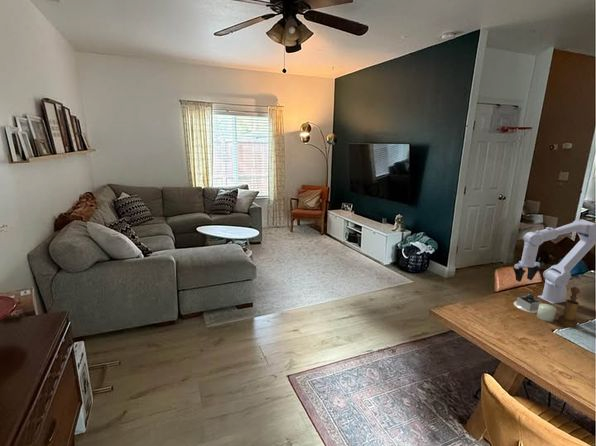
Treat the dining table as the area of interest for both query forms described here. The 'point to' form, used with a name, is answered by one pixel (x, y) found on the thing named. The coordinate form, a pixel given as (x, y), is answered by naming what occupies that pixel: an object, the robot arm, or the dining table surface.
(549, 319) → the pale green rounded block
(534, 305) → the grey faceted box
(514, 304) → the trivet
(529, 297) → the plunger
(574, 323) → the mortar and pestle
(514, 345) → the dining table surface
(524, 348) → the dining table surface
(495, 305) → the dining table surface
